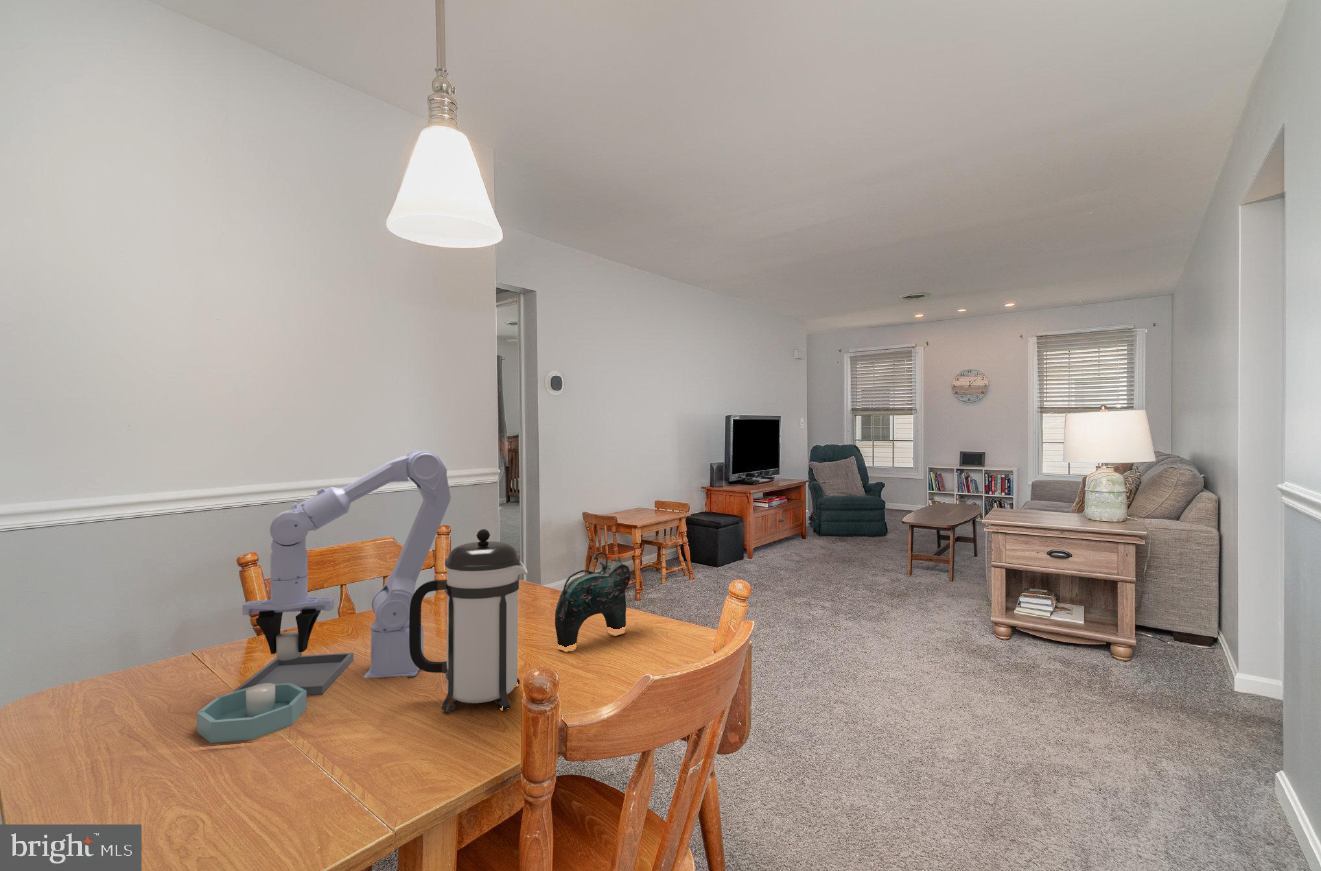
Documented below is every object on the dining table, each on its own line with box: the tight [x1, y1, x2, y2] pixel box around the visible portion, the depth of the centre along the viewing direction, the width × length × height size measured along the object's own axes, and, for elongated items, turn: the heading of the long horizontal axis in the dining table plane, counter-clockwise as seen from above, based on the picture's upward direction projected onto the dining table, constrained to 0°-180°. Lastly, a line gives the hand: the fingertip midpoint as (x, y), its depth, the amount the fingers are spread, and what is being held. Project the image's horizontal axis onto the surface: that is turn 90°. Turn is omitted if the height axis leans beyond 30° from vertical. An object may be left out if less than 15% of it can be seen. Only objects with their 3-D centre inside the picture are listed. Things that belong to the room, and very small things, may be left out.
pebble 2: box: [275, 630, 303, 661], centre depth 107 cm, size 4×4×4 cm
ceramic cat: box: [554, 551, 631, 647], centre depth 133 cm, size 20×6×20 cm, turn 136°
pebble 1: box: [246, 683, 275, 718], centre depth 96 cm, size 4×4×4 cm
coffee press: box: [409, 528, 529, 714], centre depth 103 cm, size 17×16×30 cm
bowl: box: [196, 683, 308, 747], centre depth 94 cm, size 13×13×4 cm
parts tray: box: [232, 652, 355, 696], centre depth 110 cm, size 14×16×2 cm
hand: (289, 651), depth 107 cm, fingers closed on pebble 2, 4 cm apart
